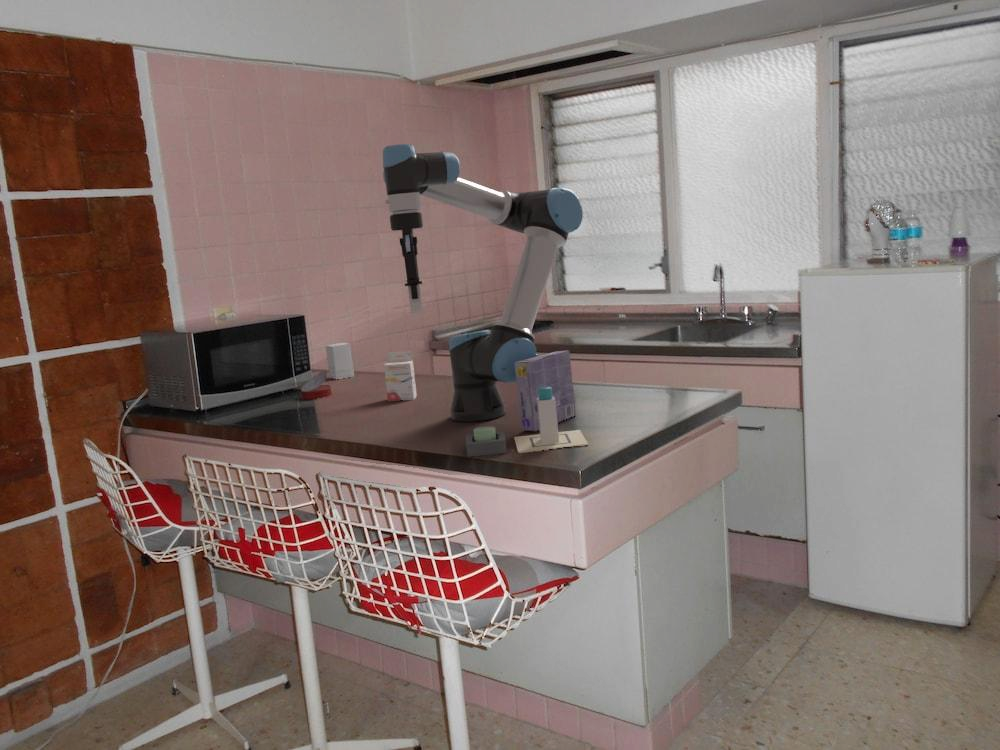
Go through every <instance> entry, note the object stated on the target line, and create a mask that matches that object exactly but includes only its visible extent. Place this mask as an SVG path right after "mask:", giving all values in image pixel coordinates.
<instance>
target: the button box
mask: <svg viewBox="0 0 1000 750" xmlns="http://www.w3.org/2000/svg"><path fill="white" fill-rule="evenodd" d="M495 432H496V440H487V441H478V442H475V439H474V433H473V434H465V446H466V455H467V458H471V456H474V457H481V456H480V455H483V456H489V455H491V454H492V455H499V454H507V453H508V450H507V440H506V436H505V432H504V430H501V431H500V430H499V431H495Z"/></svg>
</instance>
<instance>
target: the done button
mask: <svg viewBox="0 0 1000 750" xmlns="http://www.w3.org/2000/svg"><path fill="white" fill-rule="evenodd" d="M496 432H497V431H496V426H493V425H485V426H484V425H483V426H479V427H475V428H474V429H473V434H474V439H475V442H478V441H487V440H496Z"/></svg>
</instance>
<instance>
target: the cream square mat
mask: <svg viewBox="0 0 1000 750" xmlns="http://www.w3.org/2000/svg"><path fill="white" fill-rule="evenodd" d="M558 434H559V442H551V443H542V442H541V440H540V433H536V434H531V435H521V436H514V437H513V438H514V443H515V446H516V450H517V453H518V454H525V453H532V452H534V451H535V452H542V450H544V451H550V450H549V449H553V450H558V449H557V448H562V449H564V448H563V447H572V448H574V447H573V446H581V447H586V446H585V445H588V446H589V443H588V441H587V440H586V438H585V436H584V434H583V433H582V431H581V429H576V430H567V431H558Z"/></svg>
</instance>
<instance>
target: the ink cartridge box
mask: <svg viewBox="0 0 1000 750" xmlns="http://www.w3.org/2000/svg"><path fill="white" fill-rule="evenodd" d="M385 355H386V359H387V360H386V362H385V364H383V368H384V378H385V386H386V389H385V390H386V397H387V402H398V401H399V402H400V400H403V401H414V400H415V399H416V398H417V385H416V379H415V369H414V361H413V357H412V356H413V355H412V352H411V350H408V351H395V352H387V353H386V354H385ZM398 356H400V357H398ZM401 356H403V357H401Z"/></svg>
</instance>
